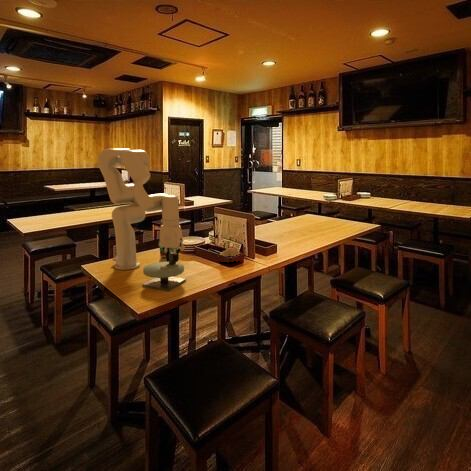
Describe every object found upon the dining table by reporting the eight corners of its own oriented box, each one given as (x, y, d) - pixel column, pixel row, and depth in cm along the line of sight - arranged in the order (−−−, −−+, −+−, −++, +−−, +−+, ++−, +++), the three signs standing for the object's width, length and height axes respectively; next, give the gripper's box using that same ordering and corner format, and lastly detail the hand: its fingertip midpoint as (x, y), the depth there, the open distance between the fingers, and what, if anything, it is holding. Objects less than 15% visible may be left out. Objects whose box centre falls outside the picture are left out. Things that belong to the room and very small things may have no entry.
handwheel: (169, 280, 153) (168, 265, 152) (134, 274, 160) (133, 260, 159) (191, 267, 169) (191, 254, 168) (159, 263, 176) (158, 250, 175)
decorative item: (237, 250, 206) (242, 247, 197) (237, 265, 204) (242, 263, 195) (216, 249, 203) (221, 245, 194) (216, 264, 201) (220, 262, 192)
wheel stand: (142, 286, 163) (141, 274, 161) (160, 276, 175) (160, 265, 174) (168, 291, 157) (168, 278, 156) (185, 280, 170) (185, 269, 168)
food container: (168, 260, 201) (168, 242, 199) (159, 259, 203) (158, 241, 201) (179, 254, 212) (179, 237, 210) (170, 253, 214) (169, 236, 212)
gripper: (150, 222, 166) (152, 261, 170) (181, 225, 160) (183, 265, 164) (160, 219, 173) (162, 257, 177) (190, 222, 166) (191, 261, 171)
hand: (172, 261), depth 170 cm, fingers closed on handwheel, 3 cm apart
